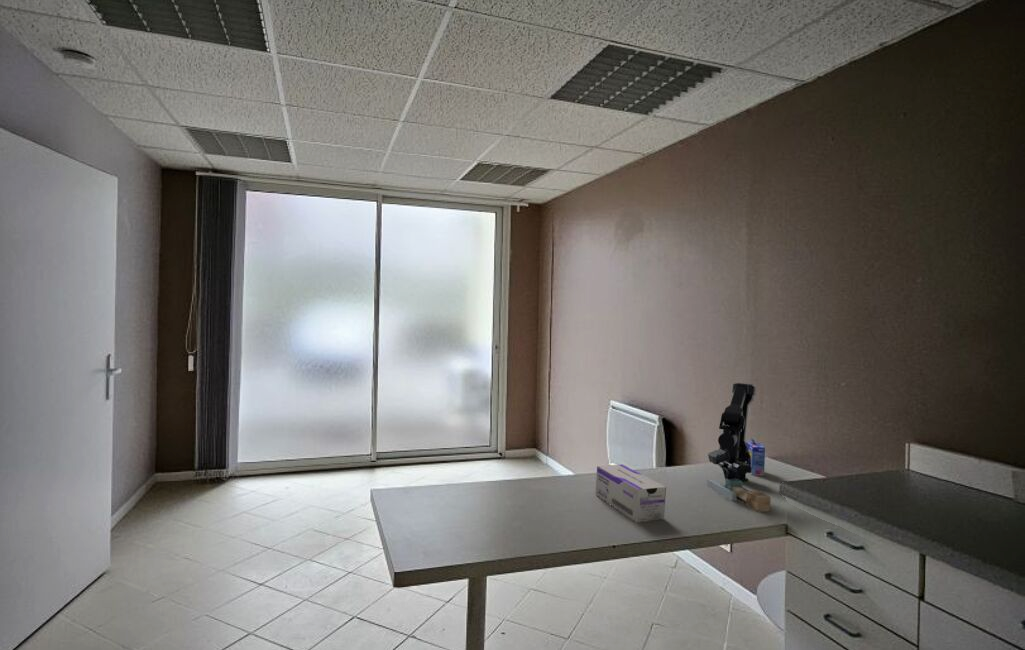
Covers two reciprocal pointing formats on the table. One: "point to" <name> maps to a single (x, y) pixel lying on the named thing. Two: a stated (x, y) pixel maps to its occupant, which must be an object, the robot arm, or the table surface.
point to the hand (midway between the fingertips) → (728, 484)
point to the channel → (724, 490)
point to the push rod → (736, 487)
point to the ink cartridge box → (756, 457)
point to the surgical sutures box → (631, 492)
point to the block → (758, 501)
